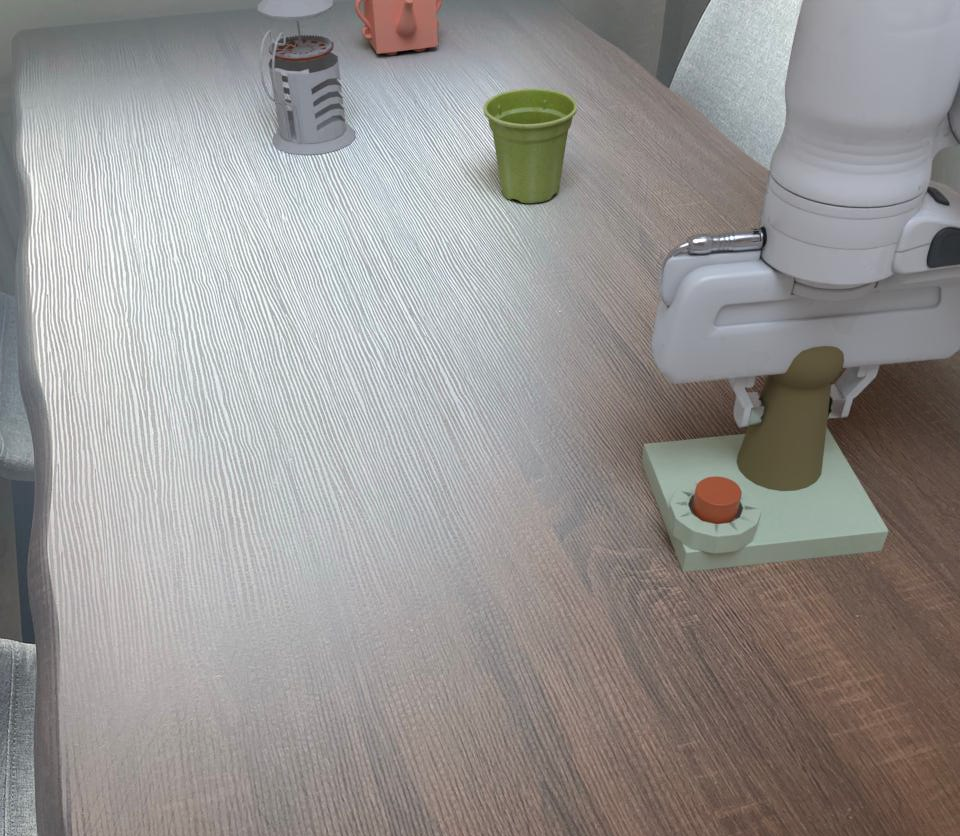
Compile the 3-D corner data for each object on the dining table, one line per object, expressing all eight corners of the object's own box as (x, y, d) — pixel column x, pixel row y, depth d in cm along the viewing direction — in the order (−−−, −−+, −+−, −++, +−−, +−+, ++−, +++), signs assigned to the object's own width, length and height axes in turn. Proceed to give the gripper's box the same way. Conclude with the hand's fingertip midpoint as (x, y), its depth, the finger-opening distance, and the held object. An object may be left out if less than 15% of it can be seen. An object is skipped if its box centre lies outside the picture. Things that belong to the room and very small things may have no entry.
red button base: (820, 445, 78) (831, 407, 76) (884, 555, 70) (898, 517, 67) (635, 464, 77) (639, 426, 75) (677, 578, 69) (684, 539, 66)
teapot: (430, 24, 145) (427, -45, 139) (458, 59, 136) (455, -13, 129) (348, 34, 143) (341, -35, 137) (370, 70, 134) (364, -2, 127)
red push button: (730, 494, 70) (734, 473, 69) (743, 522, 68) (747, 502, 67) (687, 498, 70) (690, 478, 68) (699, 527, 68) (702, 507, 66)
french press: (371, 128, 121) (345, -132, 103) (317, 167, 114) (279, -104, 96) (302, 115, 124) (265, -139, 106) (245, 152, 117) (195, -113, 99)
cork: (720, 466, 74) (745, 330, 66) (765, 428, 77) (795, 293, 69) (793, 502, 71) (829, 364, 63) (838, 461, 74) (878, 324, 66)
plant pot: (497, 217, 105) (496, 129, 99) (476, 179, 111) (473, 93, 105) (584, 205, 106) (589, 117, 100) (559, 168, 112) (561, 83, 106)
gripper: (678, 263, 58) (653, 460, 68) (1024, 233, 59) (948, 430, 69) (651, 213, 62) (631, 405, 72) (975, 186, 63) (910, 378, 74)
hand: (789, 417), depth 71 cm, fingers closed on cork, 5 cm apart
